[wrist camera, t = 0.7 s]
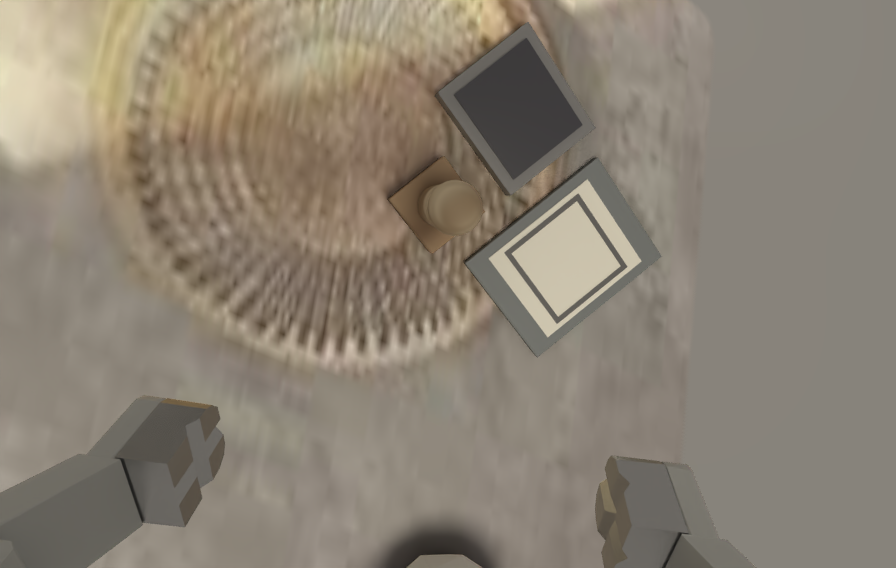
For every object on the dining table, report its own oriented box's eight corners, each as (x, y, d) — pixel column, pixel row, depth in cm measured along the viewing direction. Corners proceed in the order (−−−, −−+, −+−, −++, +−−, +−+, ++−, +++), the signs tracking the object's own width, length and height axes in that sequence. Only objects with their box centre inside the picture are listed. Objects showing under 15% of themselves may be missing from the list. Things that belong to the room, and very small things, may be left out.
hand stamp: (387, 199, 47) (398, 201, 35) (438, 158, 47) (468, 145, 35) (427, 250, 48) (452, 269, 36) (477, 210, 49) (519, 216, 36)
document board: (463, 262, 49) (465, 263, 48) (593, 158, 50) (598, 157, 49) (534, 354, 52) (537, 357, 51) (657, 255, 52) (662, 256, 52)
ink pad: (434, 95, 46) (438, 91, 44) (522, 27, 46) (529, 20, 45) (505, 195, 49) (511, 195, 47) (588, 129, 49) (597, 127, 47)
